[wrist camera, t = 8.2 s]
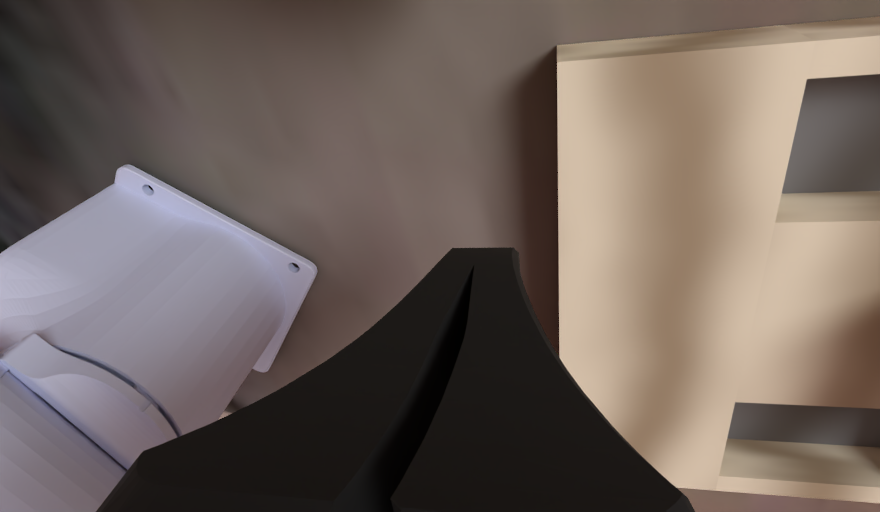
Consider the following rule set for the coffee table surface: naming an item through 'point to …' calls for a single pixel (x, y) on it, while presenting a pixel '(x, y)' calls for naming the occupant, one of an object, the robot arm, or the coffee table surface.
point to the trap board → (727, 252)
